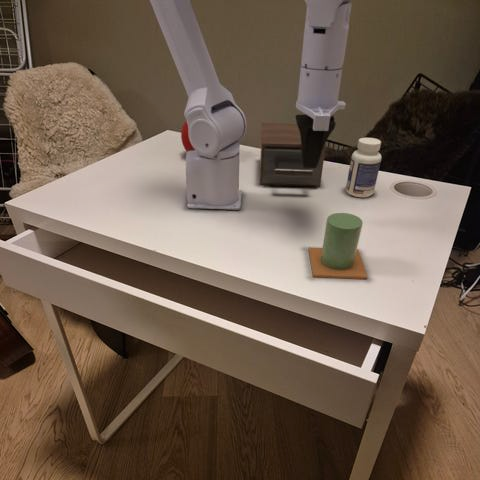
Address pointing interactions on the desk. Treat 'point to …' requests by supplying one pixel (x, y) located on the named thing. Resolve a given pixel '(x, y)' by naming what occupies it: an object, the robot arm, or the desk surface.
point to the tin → (341, 241)
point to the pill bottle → (364, 168)
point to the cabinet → (282, 145)
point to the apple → (186, 138)
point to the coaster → (322, 271)
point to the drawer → (288, 167)
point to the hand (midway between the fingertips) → (309, 166)
